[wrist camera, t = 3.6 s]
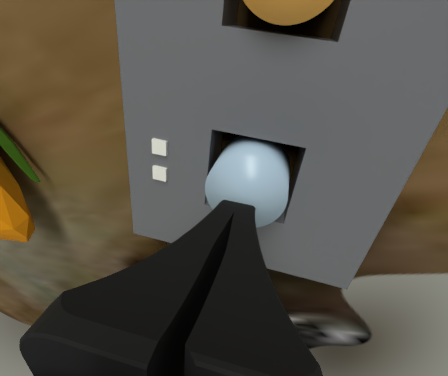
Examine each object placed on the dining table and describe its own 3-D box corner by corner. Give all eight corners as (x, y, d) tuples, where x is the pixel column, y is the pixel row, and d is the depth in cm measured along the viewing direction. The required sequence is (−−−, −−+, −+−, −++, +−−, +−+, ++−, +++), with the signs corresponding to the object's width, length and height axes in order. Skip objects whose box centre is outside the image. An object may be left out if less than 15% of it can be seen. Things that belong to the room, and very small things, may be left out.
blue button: (298, 141, 14) (298, 166, 12) (281, 203, 16) (277, 235, 14) (224, 126, 15) (208, 147, 12) (216, 188, 17) (202, 217, 14)
